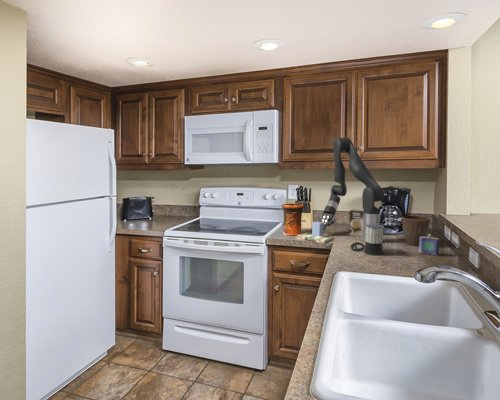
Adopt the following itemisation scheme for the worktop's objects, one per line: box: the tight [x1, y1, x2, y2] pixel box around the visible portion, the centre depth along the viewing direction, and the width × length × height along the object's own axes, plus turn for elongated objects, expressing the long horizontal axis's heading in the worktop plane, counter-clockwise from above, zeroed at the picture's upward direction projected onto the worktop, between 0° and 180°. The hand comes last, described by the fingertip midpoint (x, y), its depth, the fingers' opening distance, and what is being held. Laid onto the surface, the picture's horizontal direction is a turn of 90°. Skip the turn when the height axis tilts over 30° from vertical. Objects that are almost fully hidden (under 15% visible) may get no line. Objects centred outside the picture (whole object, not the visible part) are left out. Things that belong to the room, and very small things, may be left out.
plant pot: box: [401, 215, 431, 247], centre depth 200 cm, size 15×15×16 cm
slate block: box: [311, 221, 324, 236], centre depth 217 cm, size 5×5×8 cm
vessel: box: [281, 202, 304, 236], centre depth 231 cm, size 14×14×20 cm
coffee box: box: [348, 209, 364, 237], centre depth 228 cm, size 9×6×16 cm
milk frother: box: [350, 224, 385, 256], centre depth 184 cm, size 14×16×15 cm
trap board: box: [297, 232, 334, 244], centre depth 215 cm, size 18×12×2 cm, turn 52°
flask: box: [418, 233, 440, 256], centre depth 180 cm, size 9×3×11 cm, turn 55°
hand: (322, 229), depth 222 cm, fingers closed
